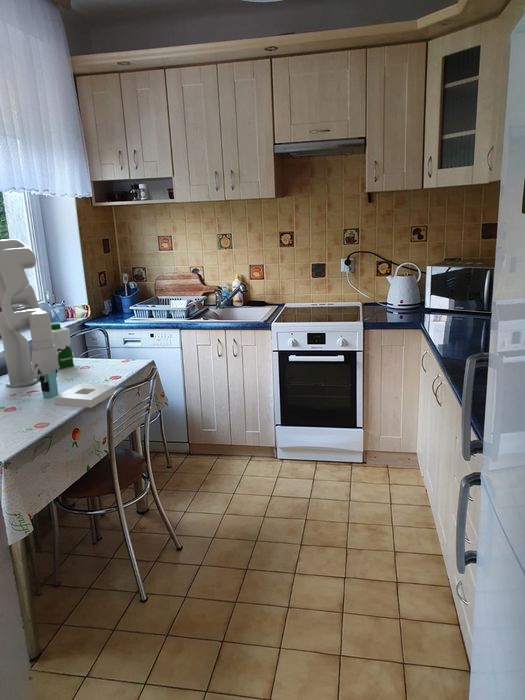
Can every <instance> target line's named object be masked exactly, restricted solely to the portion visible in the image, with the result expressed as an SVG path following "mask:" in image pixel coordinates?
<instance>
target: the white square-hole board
mask: <svg viewBox="0 0 525 700" xmlns="http://www.w3.org/2000/svg"><path fill="white" fill-rule="evenodd" d="M115 391H116V386H115V385H107V384H92V383H91V384H90V383H78V384H76V385H75V386H72V387H70V388H69V389H67V390H65V391H63V392H61V393H58V395H56V396H54V397H53V400H54V405H55V406H56V405H57V406H66V405H67V407H69V406H70V407H78V406H80V407H81V408H94V407H95V406H97V405H98V404H101V403H102V402H103V401H106V399H108V398H110V397H112V396H113V395H114V394H113V393H114V392H115ZM112 394H113V395H112Z"/></svg>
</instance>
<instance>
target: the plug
mask: <svg viewBox="0 0 525 700" xmlns="http://www.w3.org/2000/svg"><path fill="white" fill-rule="evenodd" d="M42 377H43V378H44V376H42ZM56 380H57V377H56V374H55V370H54V371H52V372H49V373H48V374H47V382H48V384H49V392H43V391H42V390H41V392H42V397H43V398H54V397H55V396H57V395H59V388H58V381H56Z"/></svg>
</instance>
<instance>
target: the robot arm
mask: <svg viewBox="0 0 525 700" xmlns="http://www.w3.org/2000/svg"><path fill="white" fill-rule="evenodd" d="M36 265H37V258H36V255H35V253H34V252H33V250H32V248H30V247H29V246H28V245H27V244H25V243H24V242H22V241H21V240H20V239H17V238H16V239H14V238H10V239H0V308H1V312H0V336H1V337H0V338H1V341H2V346H3V352H4V356H5V357H4V358H5V363H6V369H7V375H8V380H7V381H5V386H6V387H8V388H22V387H23V388H24V387H28V386H31V385H33V384H36V383H37V382H39V383H40V388H41V392H42V391H43V392H49V384H48V382H47V374H48V373H49V372H52V371H54V370H55V374H56V378H57V377H58V372H59V370H60V369H59V368H60V366H59V364H58V357H57V353H56V349H55V346H54V343H53V336H52V328H51V324H52V322H51V321H52V320H51V316H50V313H49V312H47V311H44V310H43V309H41V308H40V305H39V302H38V298H37V296H36V292H35V290H34V287H33V286H32V285H31V284H30V281H29V278H28V276H27V274H26V271H25V270H28V269H33V268H34V267H35V266H36ZM18 306H23V307H21V308H14V309H13V307H18ZM24 331H30V338H31V345H32V349H31V351H30V347H29V346H30V345H29V341H28V339H27V338H26V337H25V336H24V335H23V334H22V333H21V332H24ZM42 376H44V378H43V377H42ZM56 381H57V379H56ZM57 382H58V381H57Z"/></svg>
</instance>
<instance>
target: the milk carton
mask: <svg viewBox="0 0 525 700" xmlns="http://www.w3.org/2000/svg"><path fill="white" fill-rule="evenodd" d="M51 328H52V336H53V343H54V346H55V349H56V353H57V357H58V364H59V366H60V368H59V370H63V369H67V368H71V367H74V366H75V363H74V357H73V350H72V343H71V333H70V332H71V329H70V328H68V327H65V326H61V324H60V323H58V322H57V323H51Z"/></svg>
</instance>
